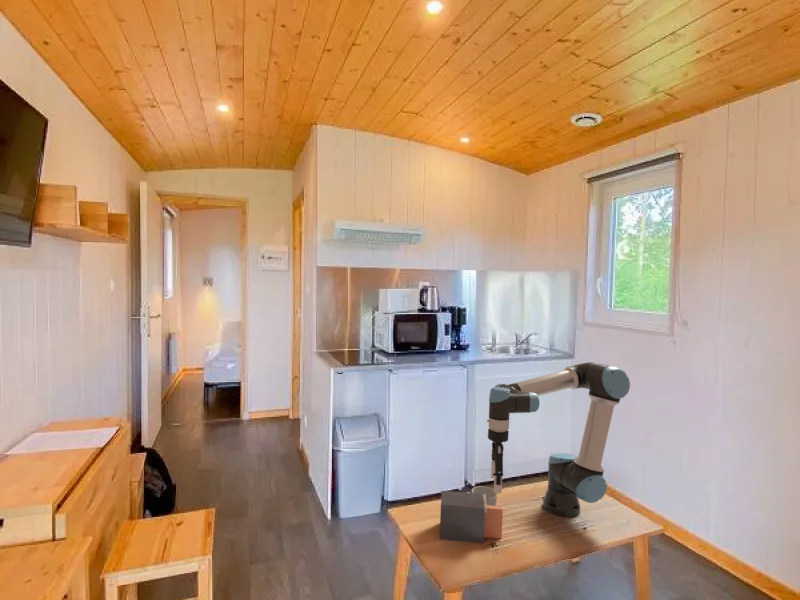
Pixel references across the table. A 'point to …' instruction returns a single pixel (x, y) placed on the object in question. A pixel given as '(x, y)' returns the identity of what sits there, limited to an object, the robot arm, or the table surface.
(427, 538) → the table surface
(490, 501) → the teacup
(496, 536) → the salmon orange rectangular slab
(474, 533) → the block
